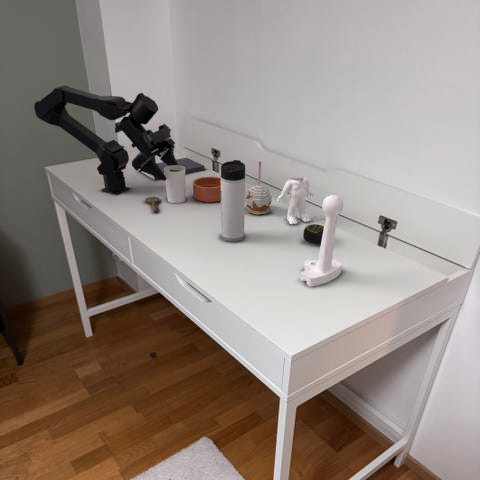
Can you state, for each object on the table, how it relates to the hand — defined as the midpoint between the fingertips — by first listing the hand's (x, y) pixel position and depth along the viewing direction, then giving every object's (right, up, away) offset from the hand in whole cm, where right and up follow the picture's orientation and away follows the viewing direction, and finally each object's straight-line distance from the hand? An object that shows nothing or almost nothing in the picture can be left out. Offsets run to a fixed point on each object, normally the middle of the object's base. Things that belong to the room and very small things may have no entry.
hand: (172, 175), depth 145 cm
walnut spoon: (-6, -10, 0) cm, 11 cm away
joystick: (+40, -35, -34) cm, 63 cm away
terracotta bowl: (+11, -5, +7) cm, 14 cm away
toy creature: (+38, -16, -7) cm, 42 cm away
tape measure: (+42, -24, -19) cm, 52 cm away
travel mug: (+19, -23, -18) cm, 34 cm away
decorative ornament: (+27, -12, -2) cm, 29 cm away
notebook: (-4, +11, +28) cm, 31 cm away
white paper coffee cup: (+1, -7, +4) cm, 8 cm away
